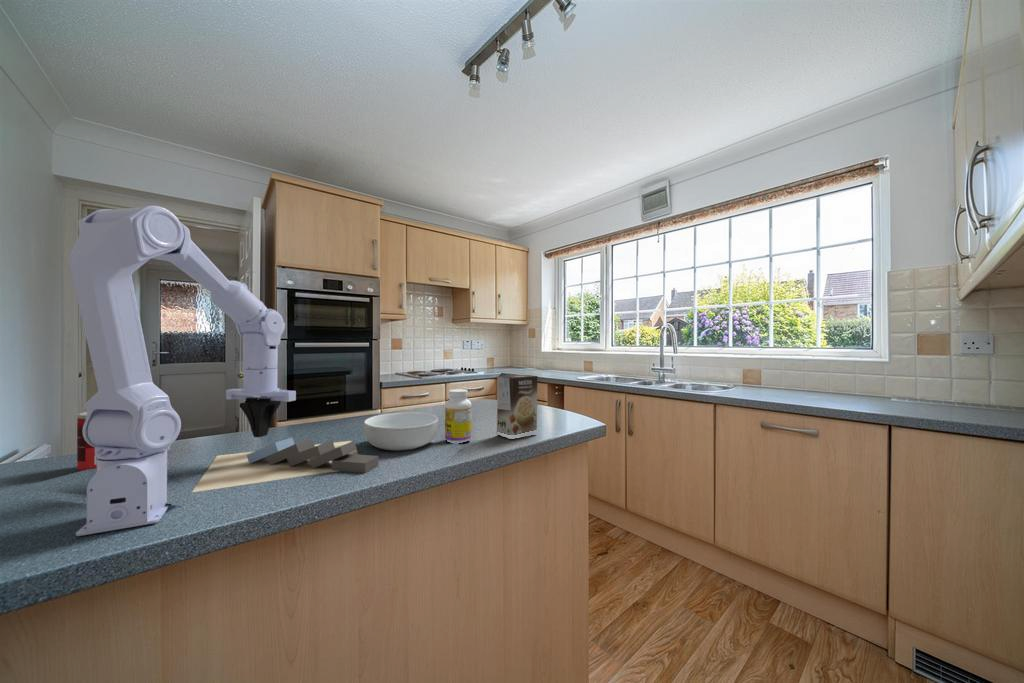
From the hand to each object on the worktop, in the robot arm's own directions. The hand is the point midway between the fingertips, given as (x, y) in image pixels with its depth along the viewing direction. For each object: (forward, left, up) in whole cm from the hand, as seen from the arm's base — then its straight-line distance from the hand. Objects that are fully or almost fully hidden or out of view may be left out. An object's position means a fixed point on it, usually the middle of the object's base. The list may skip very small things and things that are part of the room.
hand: (260, 436), depth 77 cm
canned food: (+13, +26, -6) cm, 30 cm away
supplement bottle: (-1, -42, -6) cm, 42 cm away
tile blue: (+1, +1, -4) cm, 4 cm away
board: (-3, -5, -6) cm, 8 cm away
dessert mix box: (-3, -58, -6) cm, 58 cm away
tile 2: (-2, -3, -4) cm, 6 cm away
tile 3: (-5, -6, -4) cm, 9 cm away
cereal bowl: (-1, -28, -6) cm, 29 cm away
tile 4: (-9, -10, -4) cm, 14 cm away
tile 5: (-11, -13, -4) cm, 18 cm away
